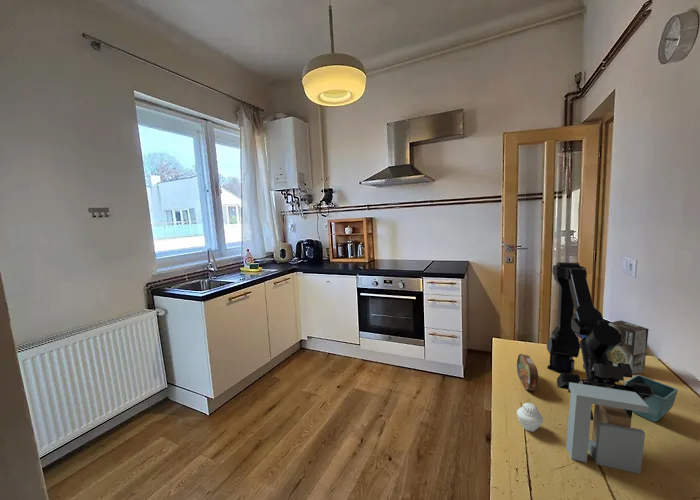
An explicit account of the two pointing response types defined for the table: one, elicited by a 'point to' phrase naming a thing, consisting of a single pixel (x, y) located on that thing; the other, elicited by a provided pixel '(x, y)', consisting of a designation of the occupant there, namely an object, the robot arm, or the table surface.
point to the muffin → (529, 417)
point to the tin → (527, 372)
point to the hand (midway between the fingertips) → (609, 423)
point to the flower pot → (656, 398)
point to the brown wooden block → (609, 418)
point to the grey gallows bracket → (604, 428)
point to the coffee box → (630, 346)
